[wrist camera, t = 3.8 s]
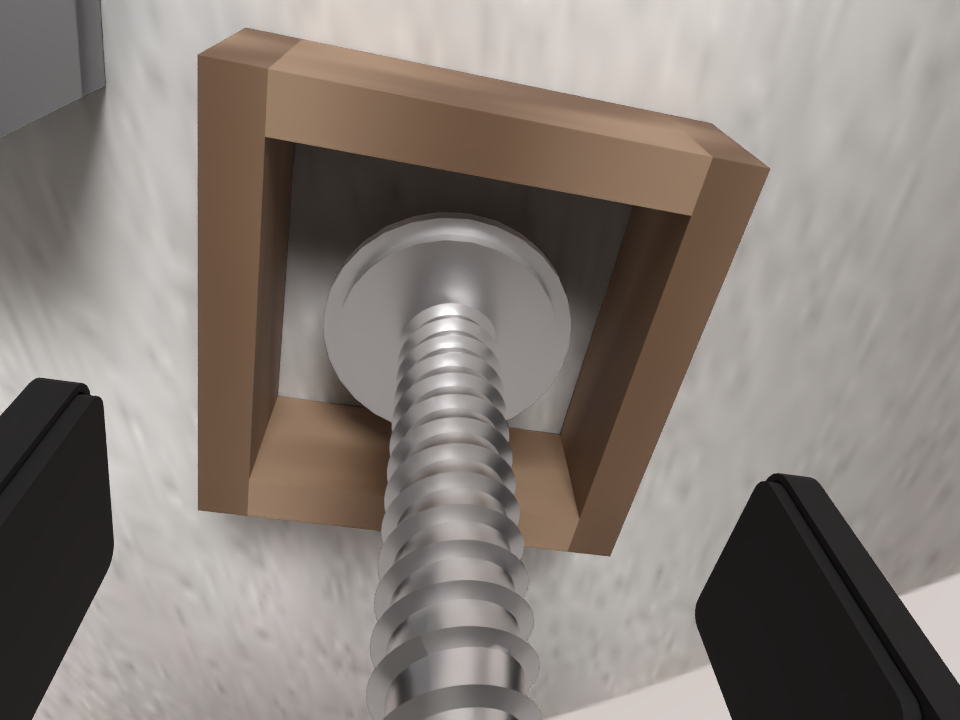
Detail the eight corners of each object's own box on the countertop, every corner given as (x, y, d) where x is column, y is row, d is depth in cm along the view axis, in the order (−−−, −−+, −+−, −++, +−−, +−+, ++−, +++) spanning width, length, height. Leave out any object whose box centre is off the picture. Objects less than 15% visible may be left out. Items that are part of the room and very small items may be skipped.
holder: (711, 123, 14) (770, 168, 12) (587, 469, 19) (609, 556, 16) (246, 27, 13) (197, 54, 10) (233, 423, 18) (198, 510, 15)
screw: (296, 231, 15) (514, 146, 14) (392, 406, 17) (583, 340, 17) (-105, 1107, 4) (765, 928, 3) (308, 1248, 6) (858, 1162, 6)
